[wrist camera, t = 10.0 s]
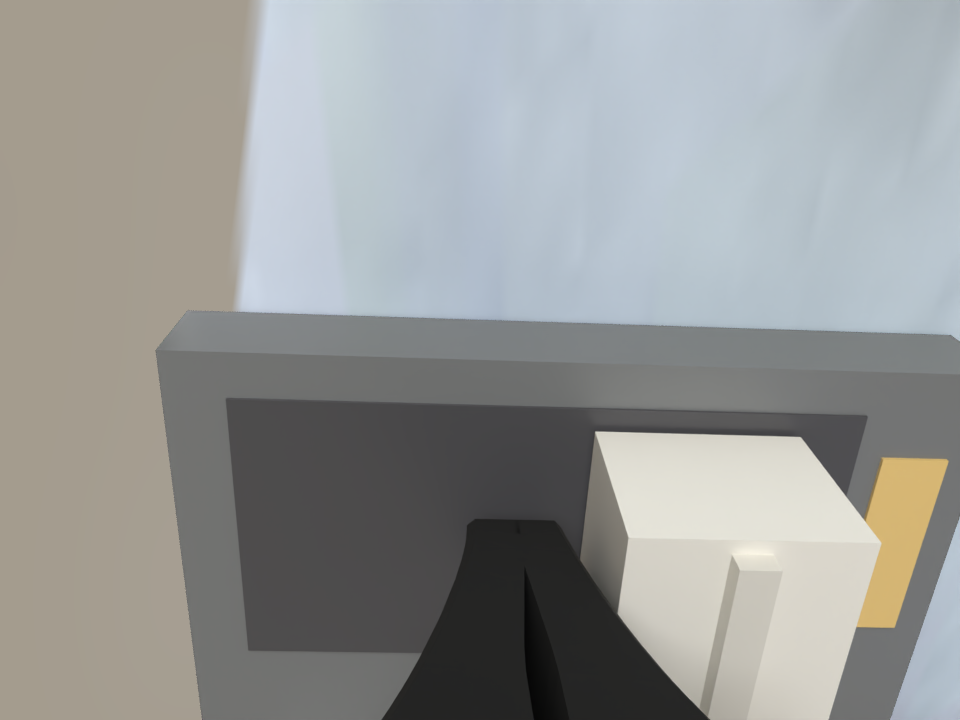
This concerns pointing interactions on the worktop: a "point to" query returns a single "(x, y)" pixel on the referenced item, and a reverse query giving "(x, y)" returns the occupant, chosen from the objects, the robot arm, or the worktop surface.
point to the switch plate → (502, 475)
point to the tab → (730, 566)
